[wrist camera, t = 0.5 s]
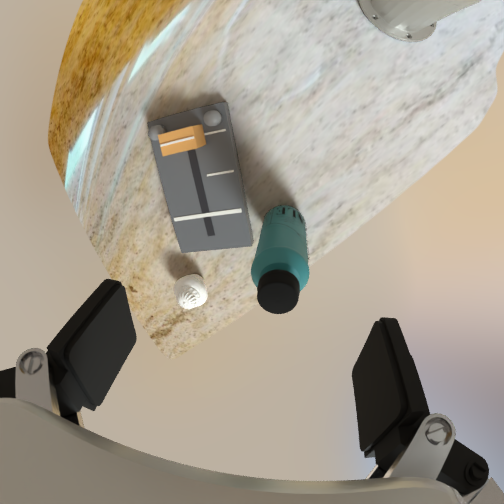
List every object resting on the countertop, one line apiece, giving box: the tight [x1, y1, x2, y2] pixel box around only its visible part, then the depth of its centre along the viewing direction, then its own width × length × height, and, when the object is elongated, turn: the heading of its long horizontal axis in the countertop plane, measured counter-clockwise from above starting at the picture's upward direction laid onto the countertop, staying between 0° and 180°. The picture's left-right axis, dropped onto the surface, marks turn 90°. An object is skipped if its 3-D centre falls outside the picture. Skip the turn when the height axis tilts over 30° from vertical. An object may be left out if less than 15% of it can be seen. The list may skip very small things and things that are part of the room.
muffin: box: [174, 274, 207, 309], centre depth 48 cm, size 6×6×7 cm
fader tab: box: [158, 124, 206, 156], centre depth 35 cm, size 3×5×4 cm, turn 100°
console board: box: [147, 102, 254, 253], centre depth 40 cm, size 22×12×4 cm, turn 10°
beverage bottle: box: [251, 205, 309, 314], centre depth 34 cm, size 6×7×20 cm
